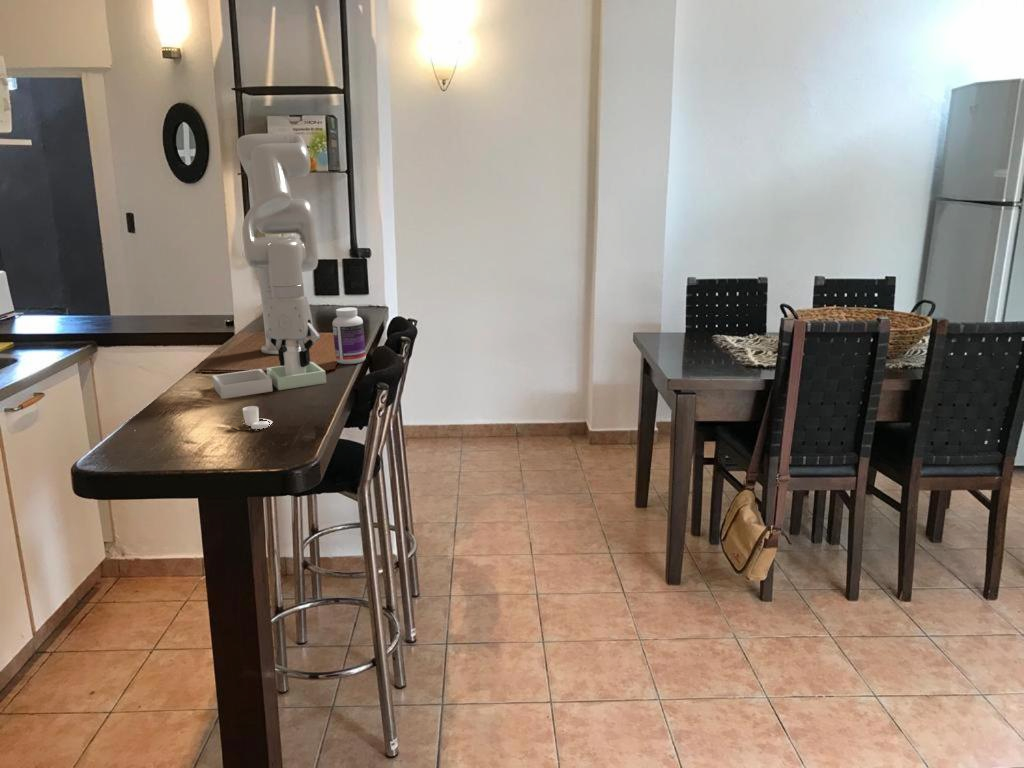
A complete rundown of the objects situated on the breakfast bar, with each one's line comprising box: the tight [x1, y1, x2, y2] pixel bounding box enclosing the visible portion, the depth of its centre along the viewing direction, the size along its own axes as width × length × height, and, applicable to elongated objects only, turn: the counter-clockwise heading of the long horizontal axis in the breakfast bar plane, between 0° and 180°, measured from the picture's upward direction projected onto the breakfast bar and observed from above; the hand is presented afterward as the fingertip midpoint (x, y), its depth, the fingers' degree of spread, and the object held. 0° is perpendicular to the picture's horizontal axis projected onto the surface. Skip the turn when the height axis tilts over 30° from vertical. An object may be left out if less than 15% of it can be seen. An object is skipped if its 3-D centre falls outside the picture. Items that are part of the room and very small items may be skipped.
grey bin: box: [211, 368, 274, 400], centre depth 194 cm, size 12×12×3 cm
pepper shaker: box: [283, 340, 306, 376], centre depth 199 cm, size 4×4×10 cm
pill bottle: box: [332, 306, 367, 365], centre depth 217 cm, size 8×8×14 cm
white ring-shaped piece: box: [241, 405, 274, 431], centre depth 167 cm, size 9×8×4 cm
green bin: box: [266, 361, 327, 391], centre depth 200 cm, size 12×12×3 cm
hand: (295, 364), depth 200 cm, fingers closed on pepper shaker, 4 cm apart
